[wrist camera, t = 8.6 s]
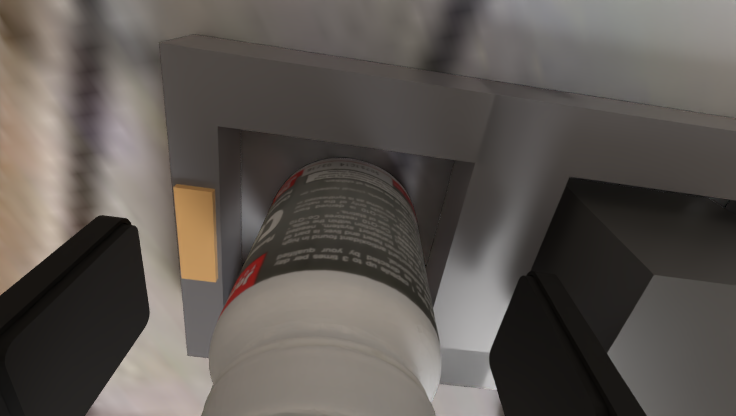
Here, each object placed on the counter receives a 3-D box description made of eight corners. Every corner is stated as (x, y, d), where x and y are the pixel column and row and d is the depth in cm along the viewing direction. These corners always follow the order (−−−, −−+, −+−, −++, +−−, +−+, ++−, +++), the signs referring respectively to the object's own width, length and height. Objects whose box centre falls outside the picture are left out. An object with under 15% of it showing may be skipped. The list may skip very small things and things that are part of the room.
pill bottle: (270, 147, 12) (118, 380, 5) (424, 160, 12) (499, 404, 5) (275, 273, 15) (174, 561, 7) (405, 282, 15) (438, 575, 7)
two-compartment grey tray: (817, 131, 12) (1079, 213, 7) (604, 439, 19) (675, 576, 14) (194, 34, 11) (70, 63, 6) (212, 397, 18) (160, 531, 13)
